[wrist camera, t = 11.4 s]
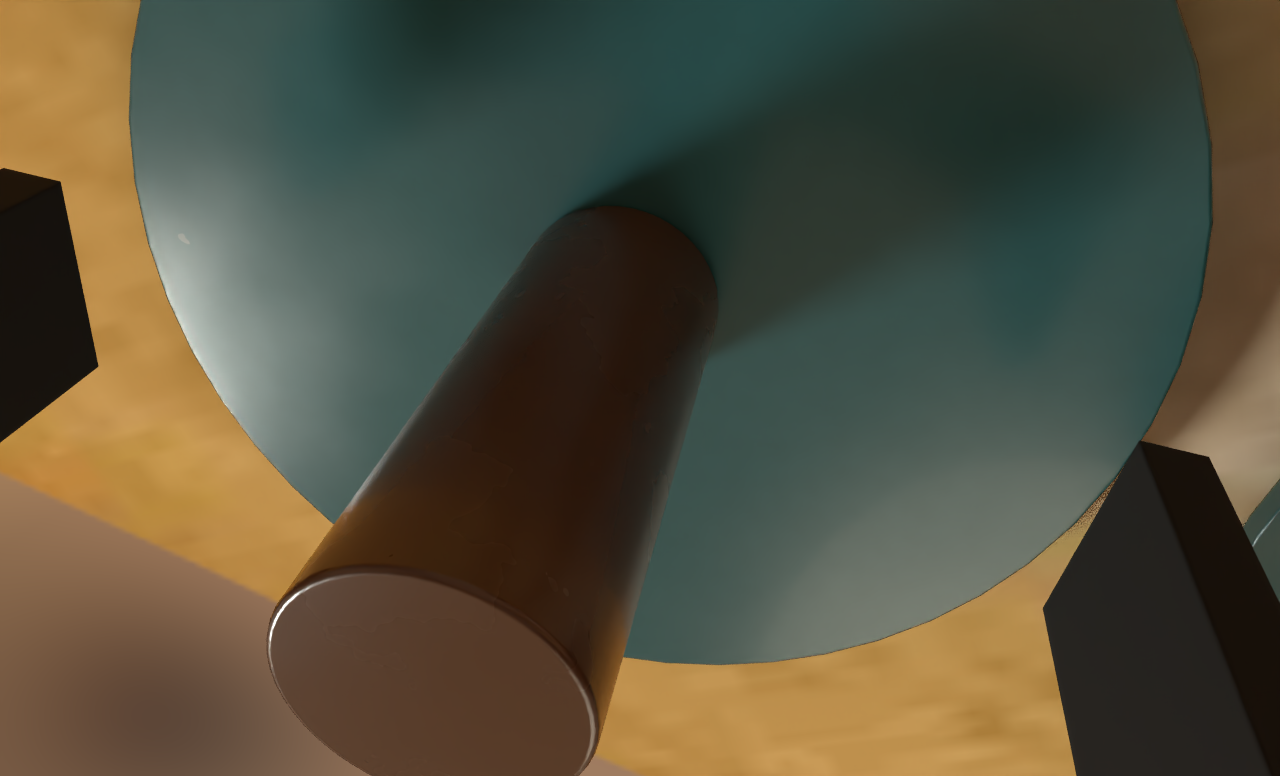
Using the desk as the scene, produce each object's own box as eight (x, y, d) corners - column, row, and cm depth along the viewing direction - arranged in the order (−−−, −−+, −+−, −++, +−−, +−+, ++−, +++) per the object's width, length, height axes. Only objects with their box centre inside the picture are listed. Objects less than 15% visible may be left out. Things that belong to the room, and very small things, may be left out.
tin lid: (98, -467, 11) (-1185, -856, 4) (1463, -222, 10) (2863, -203, 3) (223, 507, 20) (-128, 906, 13) (959, 703, 19) (1010, 1263, 12)
